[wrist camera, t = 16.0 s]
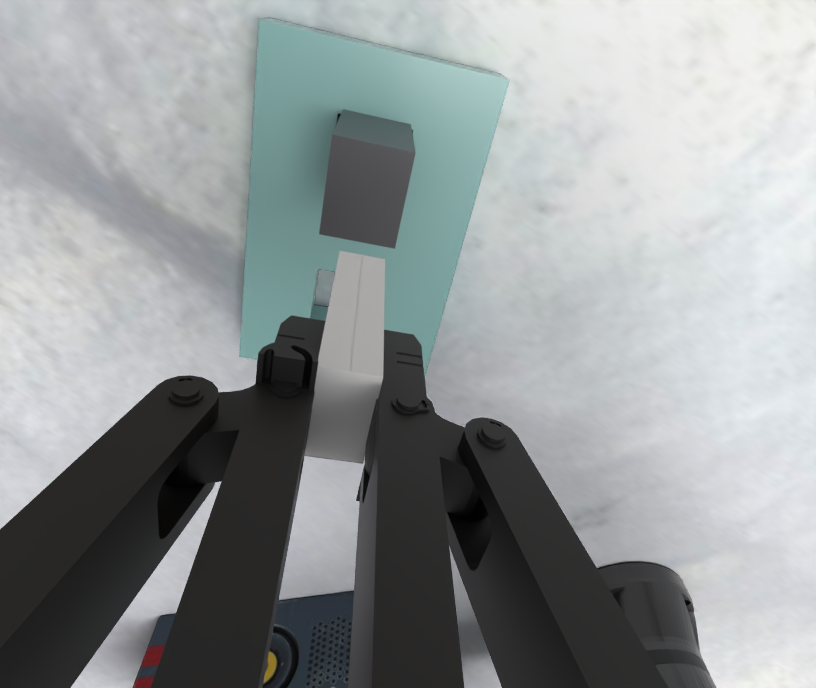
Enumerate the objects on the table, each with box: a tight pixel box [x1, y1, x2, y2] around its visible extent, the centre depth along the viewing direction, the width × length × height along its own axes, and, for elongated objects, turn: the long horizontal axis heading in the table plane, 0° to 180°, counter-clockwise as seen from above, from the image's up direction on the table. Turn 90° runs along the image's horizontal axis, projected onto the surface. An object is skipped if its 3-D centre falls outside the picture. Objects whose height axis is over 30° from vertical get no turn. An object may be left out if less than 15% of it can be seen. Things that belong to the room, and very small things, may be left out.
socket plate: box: [239, 18, 509, 377], centre depth 36 cm, size 22×14×3 cm, turn 168°
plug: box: [319, 109, 416, 249], centre depth 31 cm, size 5×4×10 cm
